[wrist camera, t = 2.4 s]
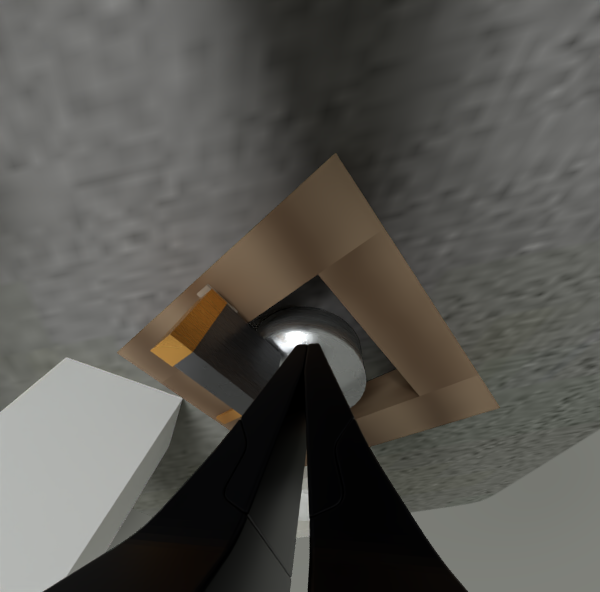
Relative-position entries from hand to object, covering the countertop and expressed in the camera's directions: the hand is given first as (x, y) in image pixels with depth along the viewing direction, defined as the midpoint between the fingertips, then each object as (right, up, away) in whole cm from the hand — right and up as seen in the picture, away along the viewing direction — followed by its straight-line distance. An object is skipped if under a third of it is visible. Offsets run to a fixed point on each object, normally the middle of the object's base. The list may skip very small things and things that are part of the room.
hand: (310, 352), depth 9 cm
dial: (-1, -1, +10) cm, 10 cm away
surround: (0, -3, +11) cm, 11 cm away
